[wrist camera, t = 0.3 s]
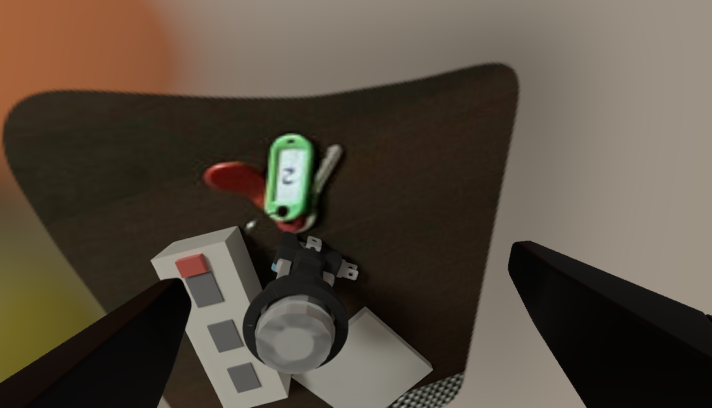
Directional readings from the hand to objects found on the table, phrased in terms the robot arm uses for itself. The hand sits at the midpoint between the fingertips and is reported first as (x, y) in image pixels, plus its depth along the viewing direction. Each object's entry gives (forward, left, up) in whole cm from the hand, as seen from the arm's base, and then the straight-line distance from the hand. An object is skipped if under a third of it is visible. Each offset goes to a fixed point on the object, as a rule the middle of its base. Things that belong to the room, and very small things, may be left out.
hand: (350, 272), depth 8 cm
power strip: (-14, -2, -15) cm, 20 cm away
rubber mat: (-11, -14, -15) cm, 23 cm away
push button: (-6, -4, -15) cm, 16 cm away
